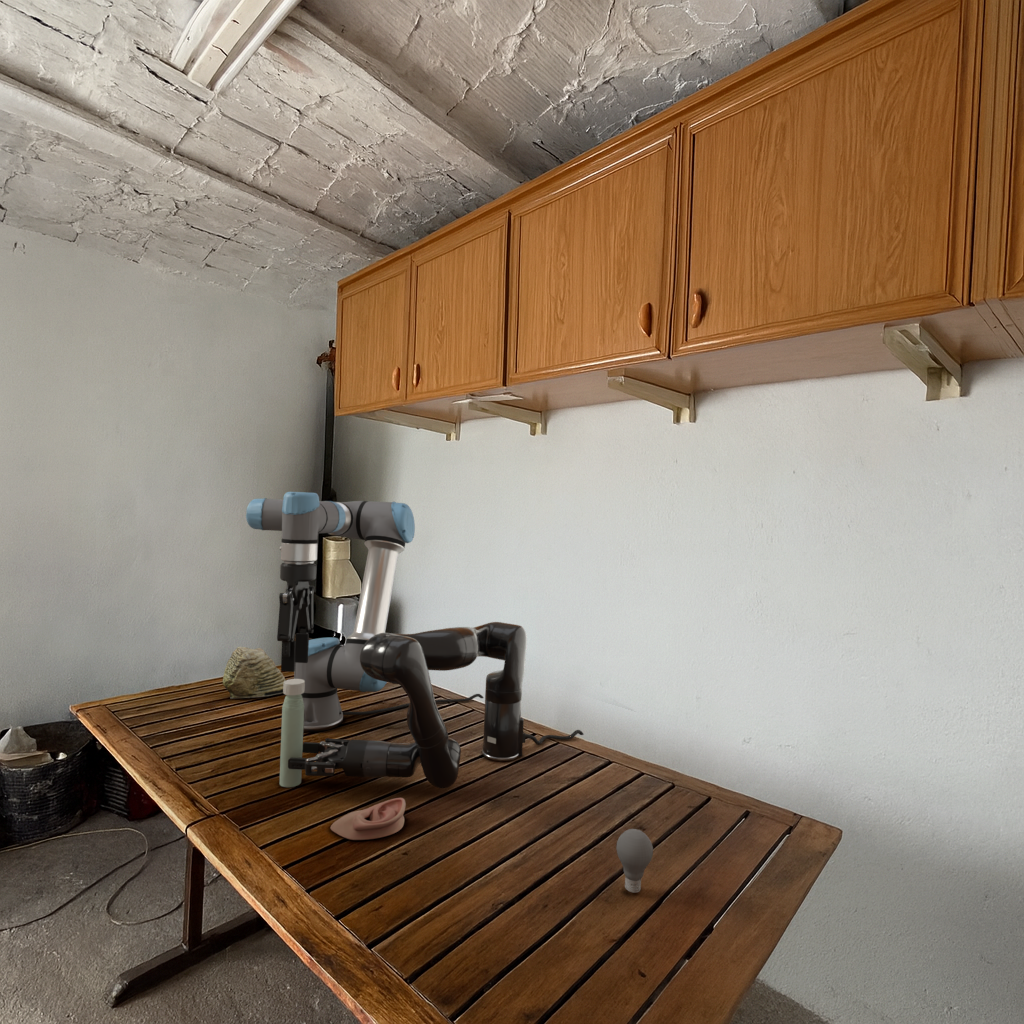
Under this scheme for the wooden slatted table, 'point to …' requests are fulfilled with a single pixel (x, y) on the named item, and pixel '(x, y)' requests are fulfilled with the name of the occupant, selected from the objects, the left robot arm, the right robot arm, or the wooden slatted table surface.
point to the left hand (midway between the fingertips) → (294, 666)
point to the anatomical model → (372, 821)
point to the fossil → (252, 674)
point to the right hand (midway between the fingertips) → (295, 755)
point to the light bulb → (634, 857)
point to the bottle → (291, 739)
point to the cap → (294, 687)
